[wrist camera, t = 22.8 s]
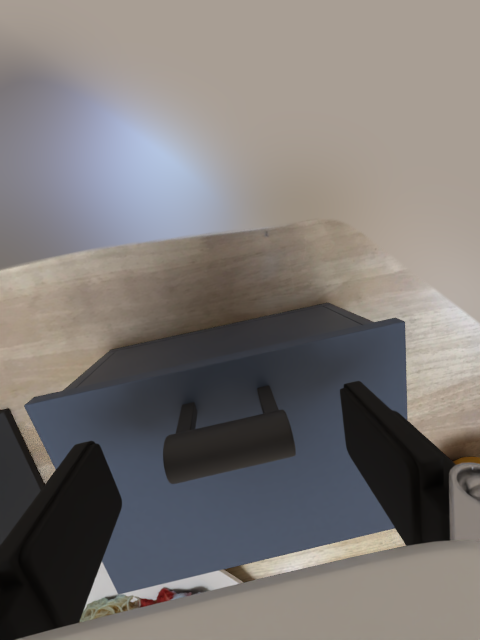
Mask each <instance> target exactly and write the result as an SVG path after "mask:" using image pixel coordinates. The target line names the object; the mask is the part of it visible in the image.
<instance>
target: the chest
mask: <svg viewBox="0 0 480 640" xmlns="http://www.w3.org/2000/svg"><path fill="white" fill-rule="evenodd" d="M369 323H374V322H372V321H370V320H368V319H365V318H363V317H361V316H358V315H356V314H353V313H351V312H349V311H346V310H344V309H342V308H339V307H337V306H335V305H332V304H330V303H324V304H319V305H315V306H310V307H306V308H301V309H296V310H292V311H287V312H282V313H278V314H273V315H269V316H264V317H259V318H255V319H250V320H246V321H241V322H236V323H232V324H227V325H223V326H218V327H213V328H209V329H204V330H200V331H195V332H190V333H186V334H181V335H177V336H172V337H167V338H163V339H158V340H154V341H149V342H144V343H140V344H135V345H130V346H126V347H121V348H117V349H112V350H110V351H109V352H108V353H106V354H105V355H104V356H103V357H102V358H100V359H99V360H98V361H97V362H96V363H95V364H93V365H92V366H91V367H90V368H89V369H88V370H86V371H85V372H84V373H83V374H82V375H81V376H79V377H78V378H77V379H76V380H75V381H74V382H72V383H71V384H70V385H69V386H68V387H67V388H66V389H64V390H63V391H65V390H69V389H74V388H78V387H83V386H87V385H92V384H97V383H101V382H106V381H110V380H115V379H119V378H124V377H128V376H133V375H137V374H142V373H147V372H151V371H156V370H160V369H165V368H169V367H174V366H178V365H183V364H187V363H192V362H197V361H201V360H206V359H210V358H215V357H219V356H224V355H228V354H233V353H237V352H242V351H247V350H251V349H256V348H260V347H265V346H269V345H274V344H278V343H283V342H288V341H292V340H297V339H301V338H306V337H310V336H315V335H319V334H324V333H328V332H333V331H338V330H342V329H347V328H351V327H356V326H360V325H365V324H369Z"/></svg>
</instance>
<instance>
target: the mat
mask: <svg viewBox="0 0 480 640" xmlns="http://www.w3.org/2000/svg"><path fill="white" fill-rule="evenodd" d="M44 486H45V485H44V483H43V481H42V479H41V477H40V475H39V472H38V470H37V468H36V466H35V464H34V462H33V460H32V458H31V455H30V453H29V451H28V449H27V447H26V445H25V443H24V440H23V438H22V436H21V434H20V432H19V430H18V428H17V425H16V423H15V421H14V419H13V417H12V415H11V413H10V411H9V409H5V410H0V545H1V544H2V543H3V541H4V540H5V538H6V537H7V536H8V534H9V533H10V532H11V530H12V529H13V528H14V526H15V525H16V524H17V522H18V521H19V519H20V518H21V517H22V515H23V514H24V513H25V511H26V510H27V509H28V507H29V506H30V505H31V503H32V502H33V500H34V499H35V498H36V496H37V495H38V494H39V492H40V491H41V490H42V488H43V487H44Z"/></svg>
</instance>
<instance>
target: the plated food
mask: <svg viewBox="0 0 480 640" xmlns="http://www.w3.org/2000/svg"><path fill="white" fill-rule="evenodd" d="M240 583H243V582H242V581H241V580H239V579H238V578H236V577H235V576H233V575H232V574H230V573H228V572H227V571H225V570H224V569H223V570H219V571H215V572H210V573H206V574H202V575H198V576H194V577H190V578H185V579H181V580H177V581H173V582H169V583H165V584H160V585H156V586H152V587H148V588H144V589H140V590H136V591H131V592H127V593H123V594H118V593H117V591H116V589H115V587H114V585H113V583H112V581H111V579H110V577H109V575H108V573H107V571H106V569H105V567H104V565H103V563H102V562H101V565H100V568H99V570H98V573H97V576H96V578H95V581H94V584H93V586H92V589H91V592H90V594H89V597H88V600H87V602H86V605H85V608H84V610H83V613H82V616H81V618H80V621H79V623H80V622H84V621H88V620H92V619H96V618H100V617H104V616H108V615H112V614H116V613H121V612H125V611H129V610H133V609H137V608H141V607H145V606H149V605H153V604H157V603H161V602H165V601H169V600H174V599H178V598H182V597H186V596H190V595H194V594H198V593H203V592H207V591H211V590H215V589H219V588H223V587H228V586H232V585H236V584H240Z"/></svg>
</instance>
